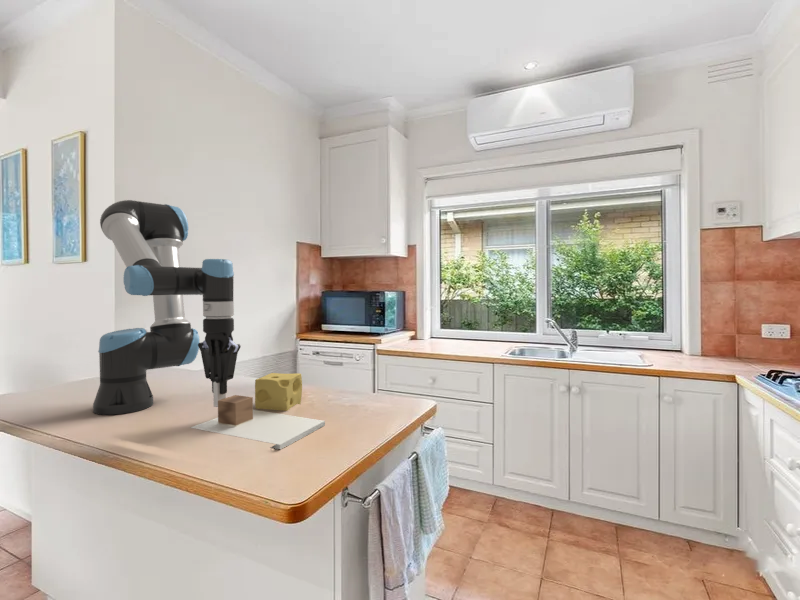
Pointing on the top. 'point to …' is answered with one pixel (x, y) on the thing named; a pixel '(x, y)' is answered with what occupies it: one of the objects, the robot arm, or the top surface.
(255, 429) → the cutting board
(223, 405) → the walnut block
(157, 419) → the top surface
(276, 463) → the top surface
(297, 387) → the cheese
